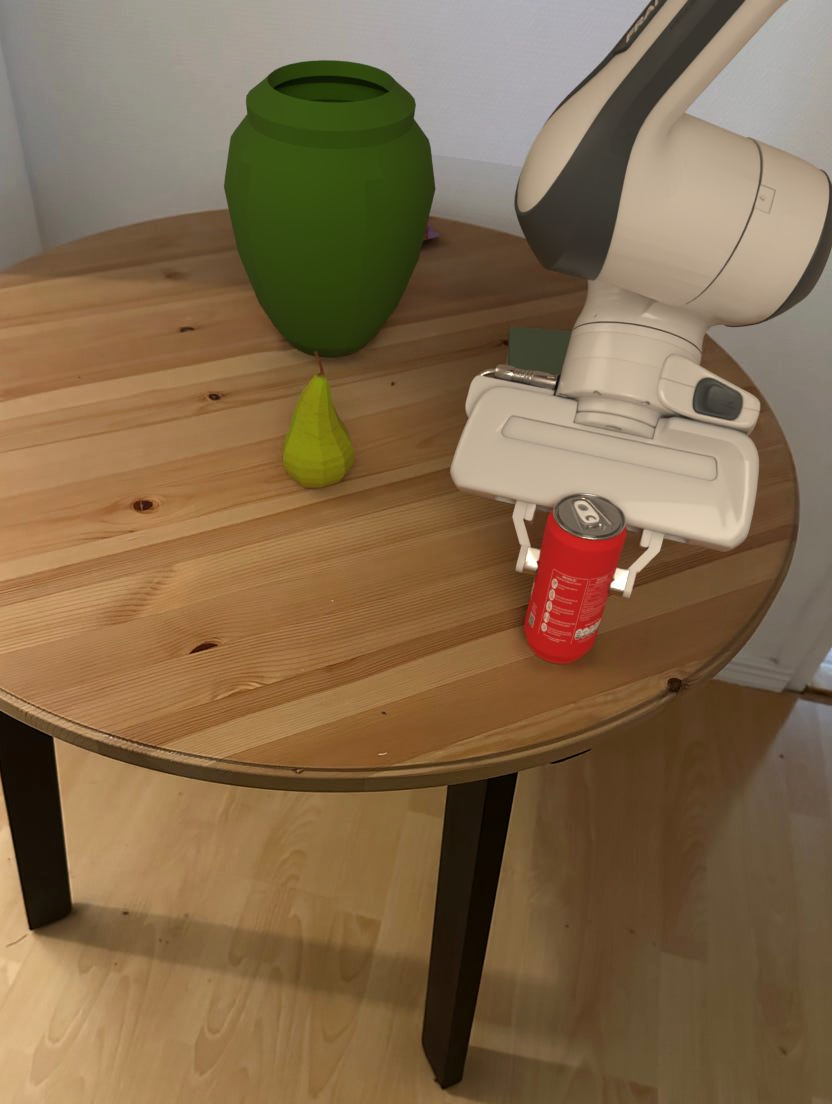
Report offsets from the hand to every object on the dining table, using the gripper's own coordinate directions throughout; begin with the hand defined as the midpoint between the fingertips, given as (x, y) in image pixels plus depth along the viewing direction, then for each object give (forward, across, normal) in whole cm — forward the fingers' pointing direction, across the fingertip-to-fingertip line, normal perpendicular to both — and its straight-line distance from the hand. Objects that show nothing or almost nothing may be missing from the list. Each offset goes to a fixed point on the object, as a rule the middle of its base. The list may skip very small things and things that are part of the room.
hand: (572, 584), depth 68 cm
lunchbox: (-17, -3, +26) cm, 31 cm away
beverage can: (+4, 0, +5) cm, 7 cm away
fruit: (-4, -23, +14) cm, 27 cm away
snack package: (-40, -32, +49) cm, 71 cm away
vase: (-21, -31, +30) cm, 47 cm away
